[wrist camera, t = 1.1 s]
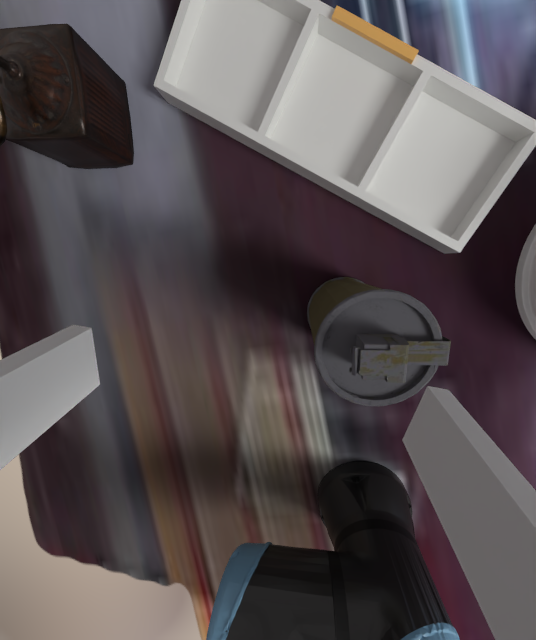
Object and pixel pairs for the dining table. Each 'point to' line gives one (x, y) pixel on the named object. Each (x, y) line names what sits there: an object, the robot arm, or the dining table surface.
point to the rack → (347, 111)
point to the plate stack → (527, 283)
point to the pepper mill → (62, 98)
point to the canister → (373, 342)
